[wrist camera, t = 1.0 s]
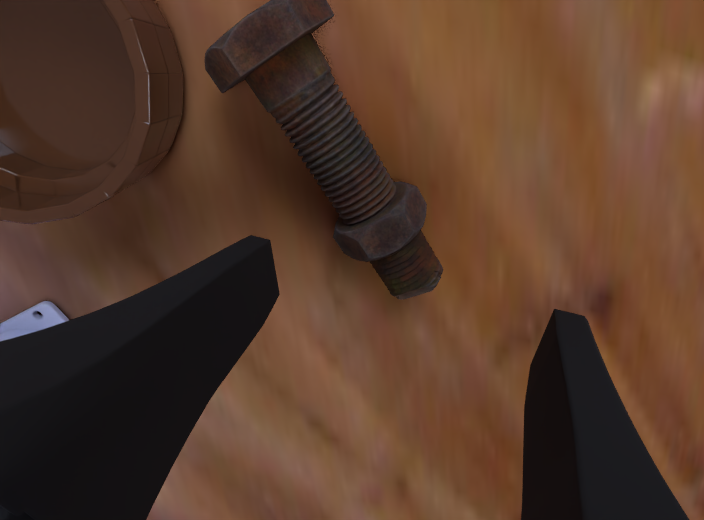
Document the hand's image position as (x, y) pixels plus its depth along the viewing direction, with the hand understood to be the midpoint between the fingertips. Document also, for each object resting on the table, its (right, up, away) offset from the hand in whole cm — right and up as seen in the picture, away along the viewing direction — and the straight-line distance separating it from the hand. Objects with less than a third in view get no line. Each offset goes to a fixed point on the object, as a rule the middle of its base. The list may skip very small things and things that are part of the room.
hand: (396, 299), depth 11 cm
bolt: (-2, +6, +12) cm, 14 cm away
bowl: (-15, +10, +9) cm, 20 cm away
